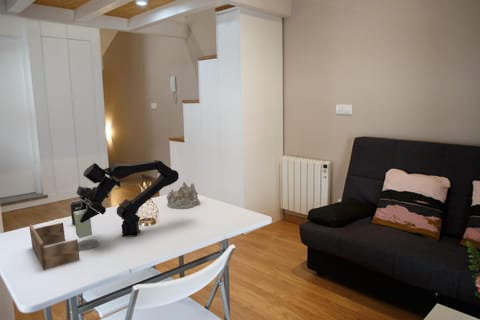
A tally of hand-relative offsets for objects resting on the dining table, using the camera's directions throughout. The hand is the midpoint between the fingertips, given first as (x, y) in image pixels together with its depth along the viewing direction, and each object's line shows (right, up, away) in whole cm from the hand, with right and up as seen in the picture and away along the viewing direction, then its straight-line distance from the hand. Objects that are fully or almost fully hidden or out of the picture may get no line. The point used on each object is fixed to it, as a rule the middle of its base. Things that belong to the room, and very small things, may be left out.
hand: (78, 220), depth 151 cm
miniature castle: (+35, -1, +56) cm, 66 cm away
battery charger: (-12, -7, +30) cm, 33 cm away
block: (+1, -6, +2) cm, 7 cm away
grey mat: (+2, -11, +3) cm, 11 cm away
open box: (-8, -12, -4) cm, 15 cm away
